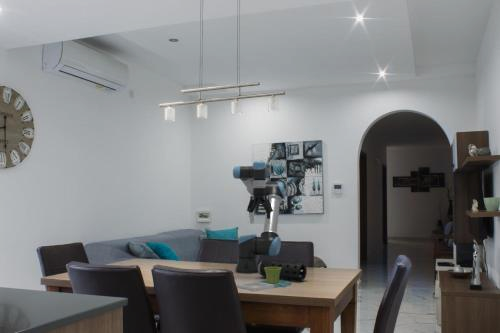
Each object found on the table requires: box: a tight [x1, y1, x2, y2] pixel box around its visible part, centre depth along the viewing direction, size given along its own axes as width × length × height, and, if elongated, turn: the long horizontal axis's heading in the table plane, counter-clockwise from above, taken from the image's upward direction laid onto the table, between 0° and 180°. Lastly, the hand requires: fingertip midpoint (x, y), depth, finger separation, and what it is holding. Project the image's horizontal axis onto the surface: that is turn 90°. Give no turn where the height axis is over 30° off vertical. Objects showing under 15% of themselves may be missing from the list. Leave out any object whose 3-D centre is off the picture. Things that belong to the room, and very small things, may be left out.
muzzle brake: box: [257, 259, 308, 282], centre depth 291 cm, size 10×28×10 cm, turn 55°
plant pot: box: [264, 267, 281, 284], centre depth 274 cm, size 9×9×9 cm
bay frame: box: [236, 279, 292, 292], centre depth 269 cm, size 18×27×2 cm
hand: (259, 223), depth 296 cm, fingers open, 13 cm apart
